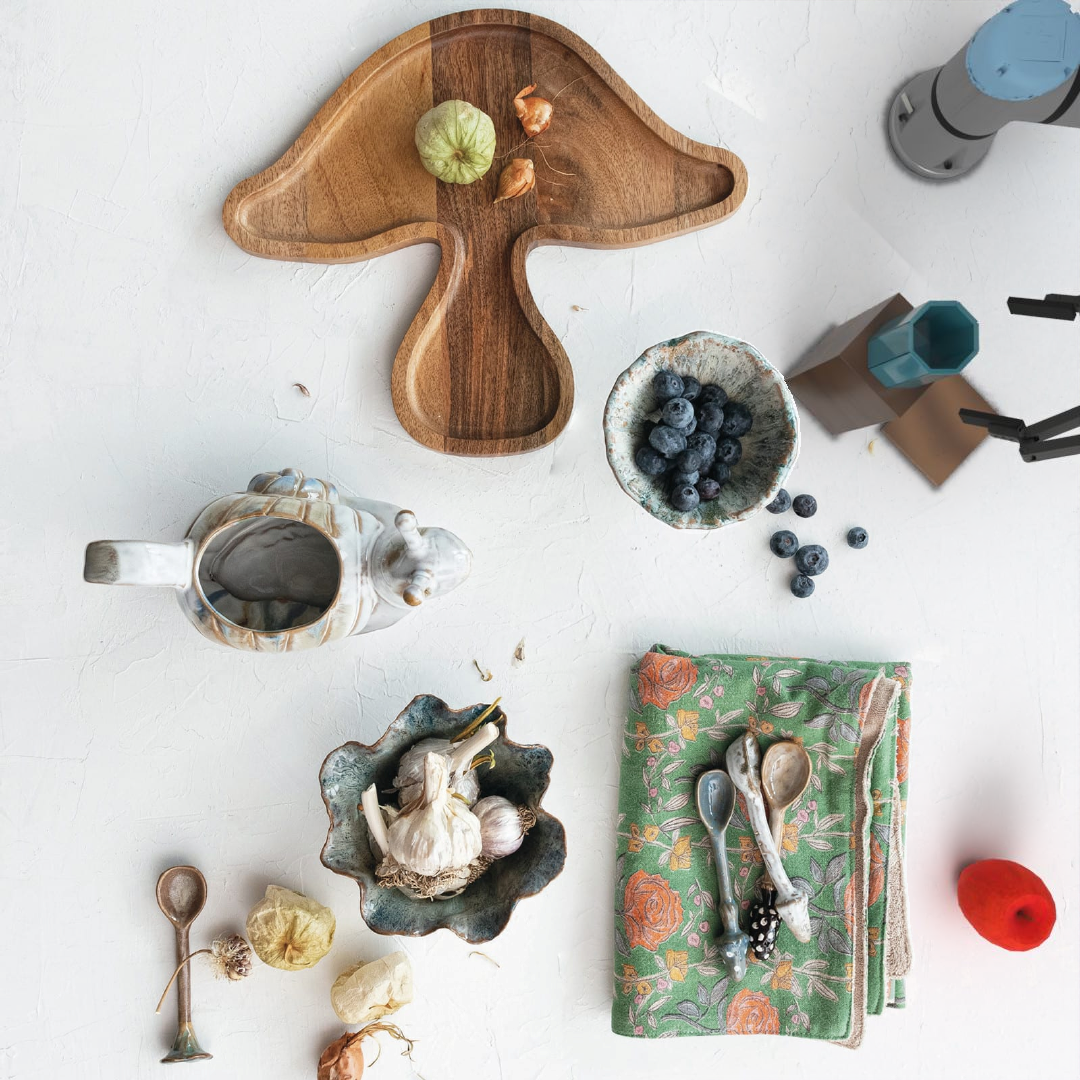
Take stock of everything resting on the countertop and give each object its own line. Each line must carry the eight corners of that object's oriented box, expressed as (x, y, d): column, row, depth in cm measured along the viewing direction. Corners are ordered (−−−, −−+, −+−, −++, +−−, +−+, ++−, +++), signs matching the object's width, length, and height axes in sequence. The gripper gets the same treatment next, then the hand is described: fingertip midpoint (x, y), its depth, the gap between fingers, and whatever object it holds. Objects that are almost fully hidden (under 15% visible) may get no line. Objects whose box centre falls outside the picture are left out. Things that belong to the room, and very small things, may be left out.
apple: (1019, 910, 128) (1081, 955, 115) (945, 929, 127) (1000, 976, 114) (1004, 834, 128) (1065, 870, 114) (930, 853, 127) (983, 891, 114)
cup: (899, 308, 105) (943, 285, 95) (945, 355, 105) (993, 337, 95) (854, 355, 104) (893, 337, 94) (900, 402, 105) (944, 389, 95)
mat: (943, 362, 126) (947, 361, 125) (999, 419, 127) (1003, 418, 126) (879, 430, 125) (883, 429, 124) (935, 487, 126) (939, 486, 125)
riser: (832, 329, 125) (899, 291, 105) (884, 382, 125) (960, 355, 105) (781, 382, 124) (838, 355, 104) (833, 435, 125) (900, 418, 105)
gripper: (1165, 524, 84) (949, 472, 98) (1264, 295, 85) (1034, 276, 99) (1162, 501, 79) (933, 449, 93) (1268, 256, 79) (1024, 241, 93)
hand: (985, 360), depth 96 cm, fingers open, 13 cm apart
